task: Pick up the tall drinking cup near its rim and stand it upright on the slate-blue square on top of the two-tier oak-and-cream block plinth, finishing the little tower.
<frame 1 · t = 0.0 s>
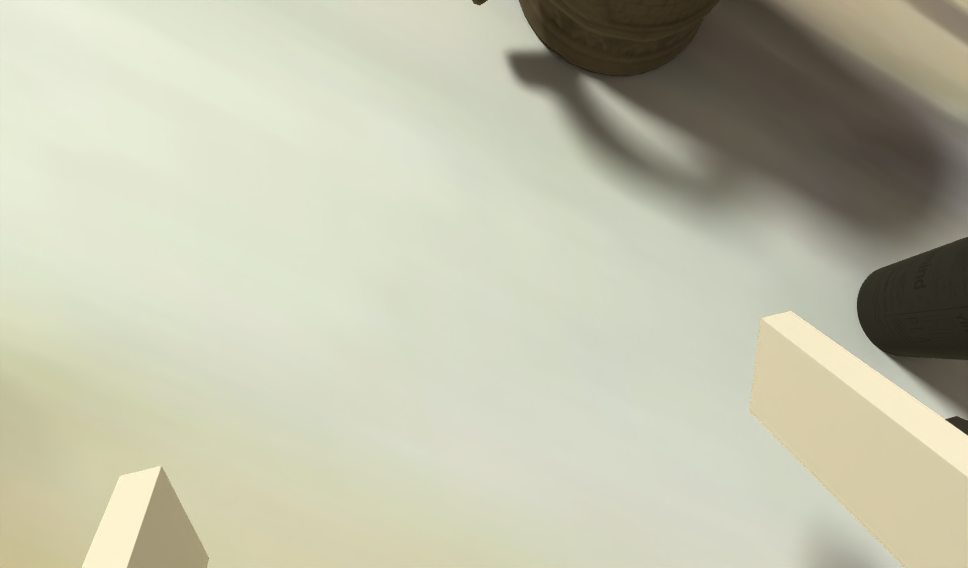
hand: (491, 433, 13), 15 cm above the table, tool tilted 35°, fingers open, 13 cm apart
drinking cup: (895, 310, 32), on the table
beer stein: (573, 7, 32), on the table
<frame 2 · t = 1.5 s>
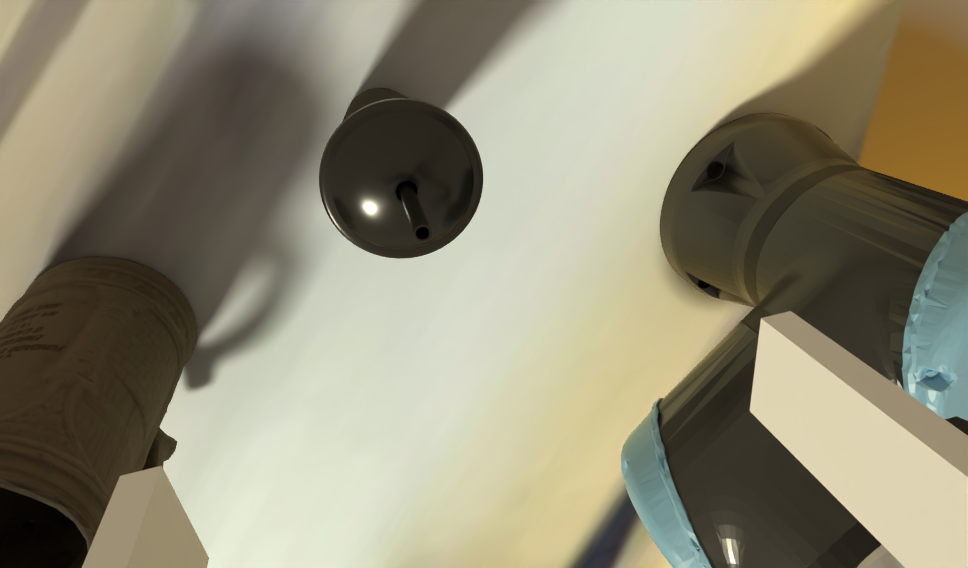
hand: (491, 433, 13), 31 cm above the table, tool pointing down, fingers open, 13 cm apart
drinking cup: (381, 124, 40), on the table
beer stein: (138, 348, 43), on the table
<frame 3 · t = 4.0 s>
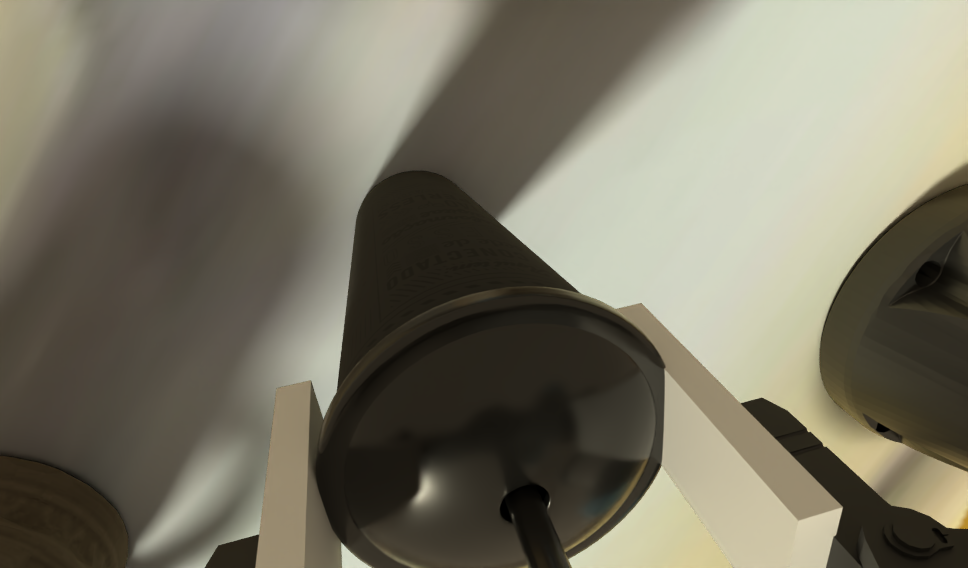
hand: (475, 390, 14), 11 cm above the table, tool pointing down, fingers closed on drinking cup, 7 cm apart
drinking cup: (414, 225, 24), on the table, touching gripper
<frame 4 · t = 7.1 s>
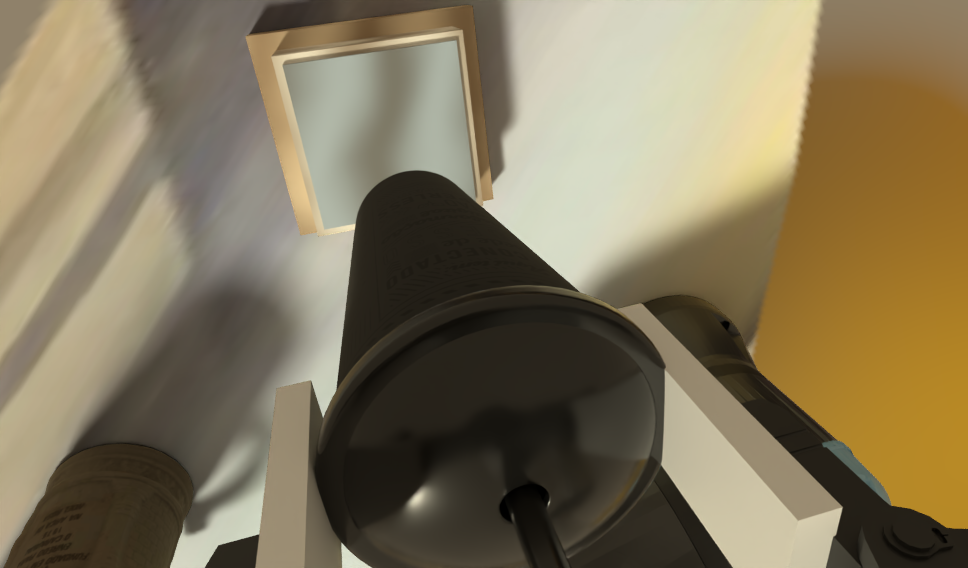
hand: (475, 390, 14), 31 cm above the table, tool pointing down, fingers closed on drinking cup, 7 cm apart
plinth: (380, 120, 41), on the table
drinking cup: (414, 225, 24), point 20 cm above the table, touching gripper
beer stein: (144, 506, 51), on the table
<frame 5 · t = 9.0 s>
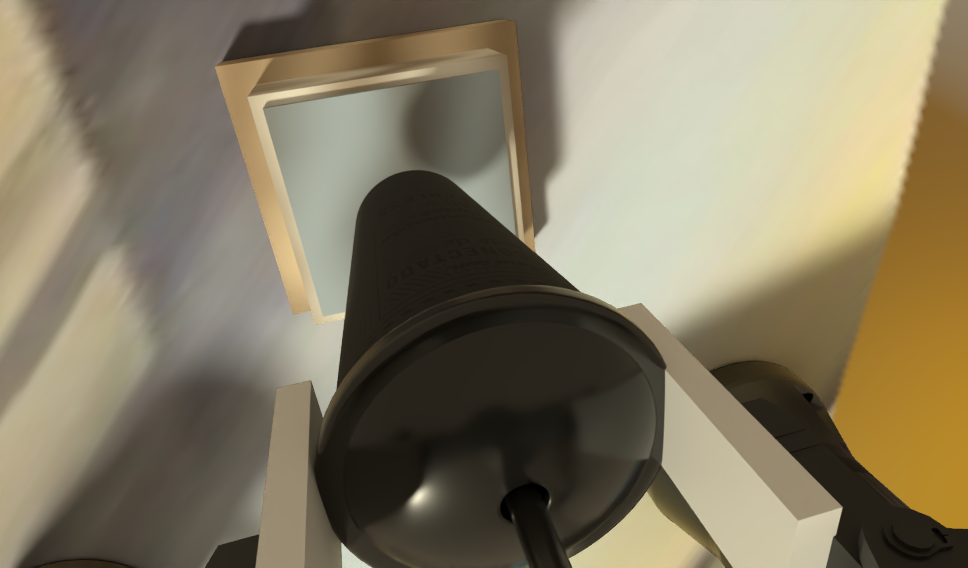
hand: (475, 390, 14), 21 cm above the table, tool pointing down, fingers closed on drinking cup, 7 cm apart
plinth: (393, 167, 32), on the table
drinking cup: (414, 225, 24), point 9 cm above the table, touching gripper
when the fingers open (18 cm above the table, at t = 10.3 s): drinking cup drops 1 cm, resting on plinth.
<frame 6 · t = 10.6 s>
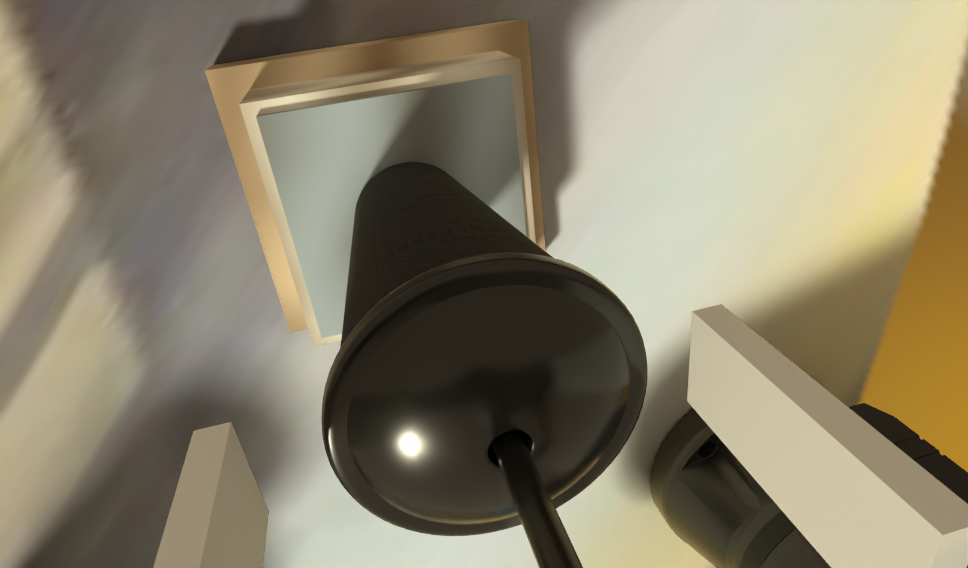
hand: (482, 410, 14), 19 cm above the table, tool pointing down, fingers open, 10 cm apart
plinth: (396, 176, 30), on the table
drinking cup: (410, 214, 26), point 6 cm above the table, touching plinth
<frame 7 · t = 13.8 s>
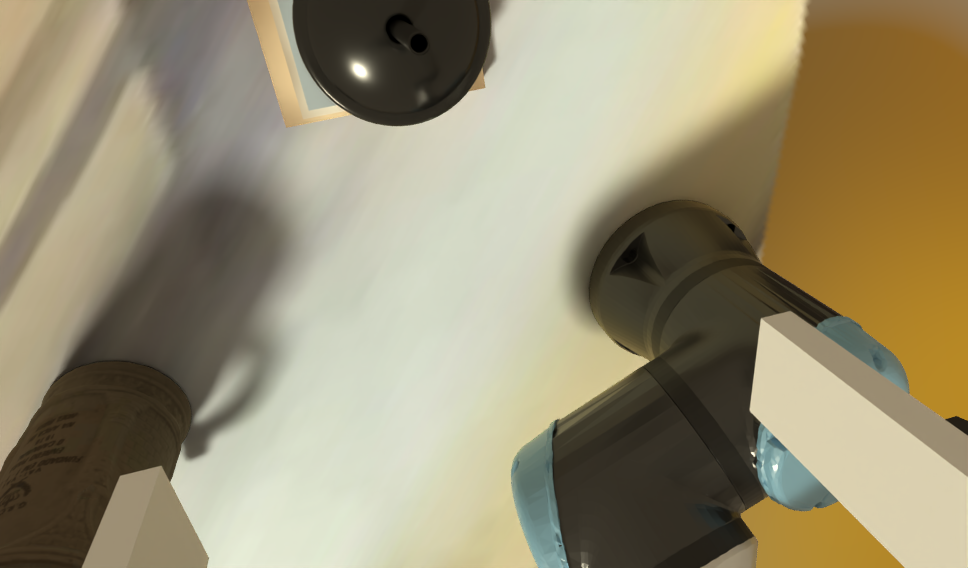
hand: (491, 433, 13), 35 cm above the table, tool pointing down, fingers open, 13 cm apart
plinth: (363, 3, 40), on the table
drinking cup: (370, 8, 35), point 6 cm above the table, touching plinth
beer stein: (142, 429, 50), on the table
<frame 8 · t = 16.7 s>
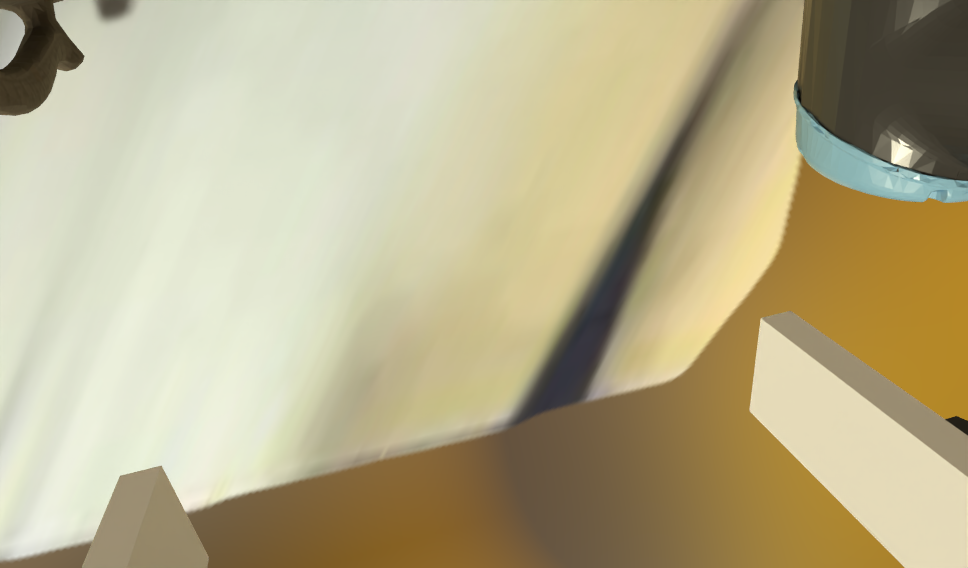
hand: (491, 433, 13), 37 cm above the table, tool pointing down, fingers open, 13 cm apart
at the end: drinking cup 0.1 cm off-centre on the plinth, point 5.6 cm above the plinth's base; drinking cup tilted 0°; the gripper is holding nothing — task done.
